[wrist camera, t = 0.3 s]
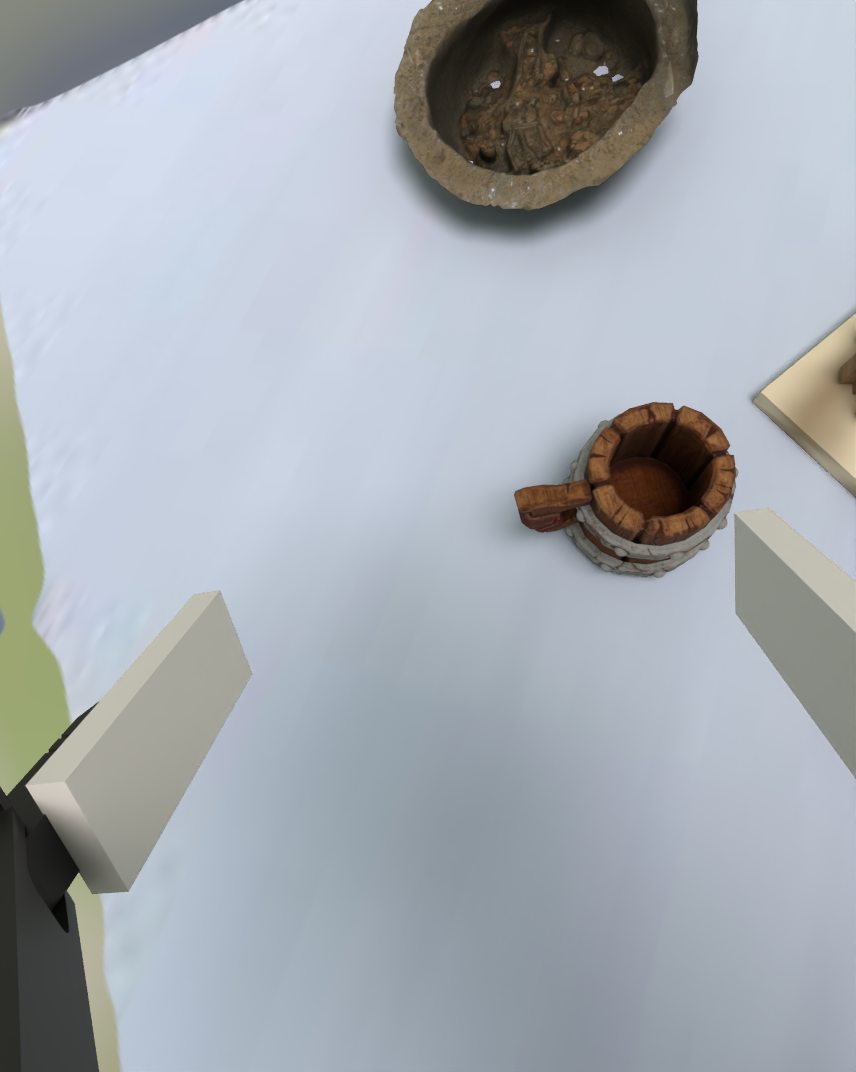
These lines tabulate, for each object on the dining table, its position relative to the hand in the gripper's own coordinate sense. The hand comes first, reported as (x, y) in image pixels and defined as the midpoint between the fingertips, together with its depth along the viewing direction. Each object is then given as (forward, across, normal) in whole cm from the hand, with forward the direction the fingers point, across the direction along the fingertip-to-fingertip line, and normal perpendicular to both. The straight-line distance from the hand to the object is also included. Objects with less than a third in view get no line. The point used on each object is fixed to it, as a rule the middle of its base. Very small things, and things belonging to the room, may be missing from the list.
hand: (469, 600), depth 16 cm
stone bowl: (+54, -8, -18) cm, 58 cm away
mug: (+33, -9, +13) cm, 37 cm away
